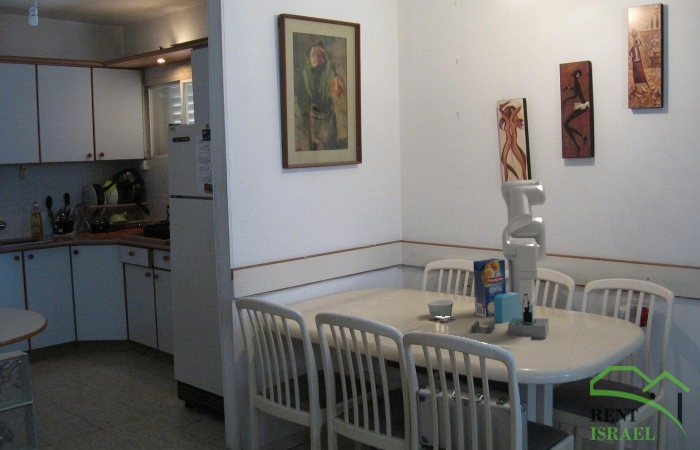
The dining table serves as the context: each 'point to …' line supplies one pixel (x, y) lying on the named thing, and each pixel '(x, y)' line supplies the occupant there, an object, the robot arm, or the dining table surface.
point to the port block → (529, 328)
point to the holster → (483, 328)
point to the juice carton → (488, 284)
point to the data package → (507, 307)
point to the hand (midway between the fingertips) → (528, 320)
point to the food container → (440, 308)
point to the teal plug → (531, 311)
